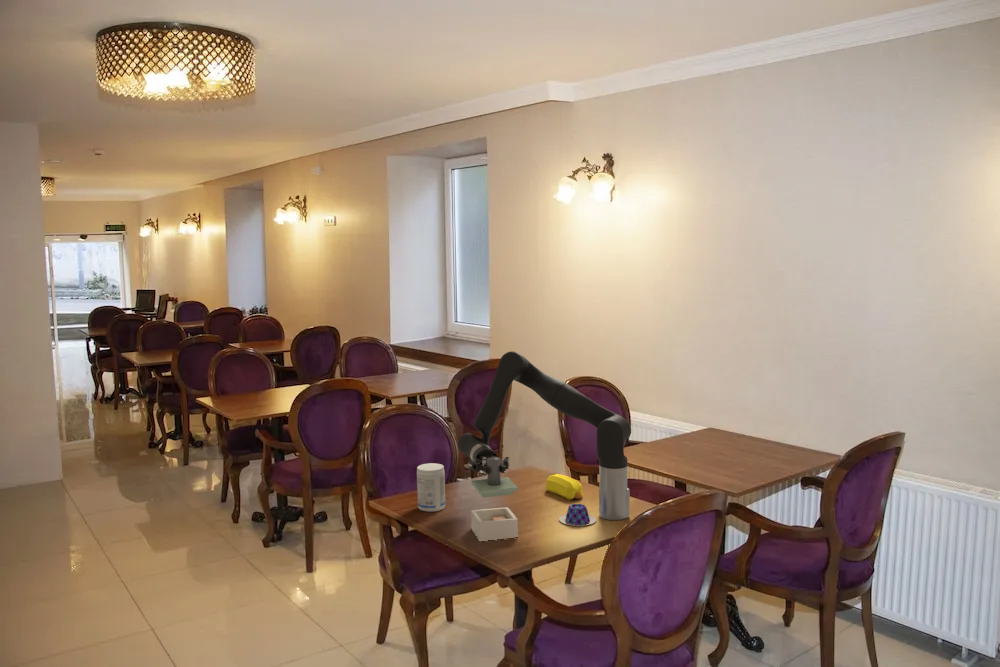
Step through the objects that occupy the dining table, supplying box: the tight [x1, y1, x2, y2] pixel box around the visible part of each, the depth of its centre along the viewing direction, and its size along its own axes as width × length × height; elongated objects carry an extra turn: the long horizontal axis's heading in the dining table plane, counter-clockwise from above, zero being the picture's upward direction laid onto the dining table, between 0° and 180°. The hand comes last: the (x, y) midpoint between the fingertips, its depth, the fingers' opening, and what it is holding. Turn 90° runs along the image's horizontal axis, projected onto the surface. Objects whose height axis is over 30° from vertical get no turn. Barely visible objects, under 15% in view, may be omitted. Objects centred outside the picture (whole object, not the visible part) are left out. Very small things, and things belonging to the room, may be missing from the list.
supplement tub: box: [416, 462, 446, 513], centre depth 265 cm, size 10×10×15 cm
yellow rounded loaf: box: [545, 473, 583, 500], centre depth 279 cm, size 18×7×8 cm
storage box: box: [470, 506, 519, 542], centre depth 240 cm, size 12×12×6 cm
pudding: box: [558, 503, 597, 527], centre depth 251 cm, size 12×12×5 cm
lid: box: [470, 456, 519, 498], centre depth 238 cm, size 12×12×10 cm
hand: (496, 470), depth 235 cm, fingers closed on lid, 4 cm apart
